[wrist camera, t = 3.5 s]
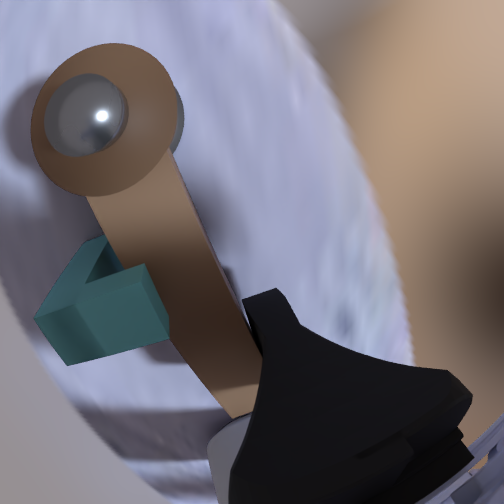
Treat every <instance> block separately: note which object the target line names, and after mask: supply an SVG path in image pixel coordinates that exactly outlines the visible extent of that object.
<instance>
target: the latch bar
mask: <svg viewBox="0 0 504 504" xmlns="http://www.w3.org/2000/svg"><path fill="white" fill-rule="evenodd" d="M86 73H93V74H98V75H101V76H103V77H105V78H107V79H108V80H109V81H111V82H112V83H113V84H114V85H116V86H117V87H118V88H119V89H120V90H121V91H122V92H123V93H124V95H125V97H126V99H127V102H128V106H129V118H128V122H127V126H126V128H125V130H124V132H123V134H122V135H121V137H120V138H119V139H118V140H117V141H116V142H115V143H114V144H113V145H112V146H111V147H109V148H108V149H106V150H104V151H101V152H98V153H94V154H90V155H86V156H82V157H71V156H66V155H64V154H62V153H60V152H58V151H57V150H56V149H54V147H53V146H52V145H51V144H50V142H49V141H48V138H47V136H46V133H45V128H44V116H45V111H46V107H47V105H48V102H49V100H50V98H51V96H52V95H53V94H54V92H55V91H56V90H57V89H58V87H59V86H61V85H62V84H63V83H64V82H65V81H67V80H68V79H70V78H72V77H74V76H77V75H80V74H86ZM176 127H177V98H176V92H175V88H174V85H173V82H172V80H171V78H170V76H169V74H168V72H167V71H166V69H165V68H164V66H163V65H162V64H161V63H160V62H159V61H158V60H157V59H156V58H155V57H153V56H152V55H151V54H150V53H148V52H146V51H144V50H142V49H140V48H138V47H135V46H132V45H127V44H119V43H109V44H101V45H97V46H93V47H90V48H87V49H85V50H82V51H80V52H78V53H77V54H75V55H73V56H72V57H70V58H69V59H67V60H66V61H65V62H64V63H62V64H61V65H60V66H59V67H58V68H57V69H56V70H55V71H54V72H53V73H52V74H51V76H50V77H49V78H48V80H47V81H46V82H45V84H44V86H43V87H42V89H41V91H40V93H39V95H38V98H37V100H36V103H35V106H34V109H33V114H32V119H31V141H32V147H33V151H34V154H35V157H36V159H37V161H38V163H39V165H40V167H41V168H42V170H43V172H44V173H45V174H46V175H47V176H48V178H49V179H50V180H51V181H53V182H54V183H55V184H56V185H57V186H59V187H61V188H62V189H64V190H66V191H68V192H71V193H73V194H77V195H80V196H86V198H87V200H88V202H89V204H90V206H91V208H92V210H93V212H94V214H95V216H96V218H97V220H98V222H99V224H100V226H101V228H102V230H103V232H104V234H105V235H106V237H107V239H108V241H109V243H110V245H111V246H112V248H113V250H114V252H115V254H116V255H117V257H118V259H119V261H120V262H121V264H122V266H123V268H124V269H125V270H126V269H129V268H132V267H135V266H138V265H141V264H143V263H145V266H146V268H147V270H148V272H149V275H150V277H151V279H152V281H153V284H154V286H155V288H156V290H157V292H158V294H159V297H160V299H161V301H162V303H163V305H164V307H165V309H166V311H167V313H168V315H169V335H170V340H171V342H172V343H173V345H174V346H175V347H176V349H177V350H178V351H179V353H180V354H181V356H182V357H183V358H184V360H185V361H186V362H187V364H188V365H189V366H190V368H191V369H192V370H193V371H194V373H195V374H196V375H197V377H198V378H199V379H200V380H201V382H202V383H203V384H204V385H205V387H206V388H207V389H208V390H209V392H210V393H211V394H212V395H213V397H214V398H215V399H216V400H217V401H218V403H219V404H220V405H221V406H222V407H223V408H224V410H225V411H226V412H227V413H228V414H229V415H230V417H231V418H232V419H233V418H236V417H238V416H241V415H244V414H246V413H249V412H252V411H253V408H254V404H255V400H256V396H257V391H258V386H259V381H260V375H261V368H262V359H263V357H262V354H261V352H260V350H259V348H258V345H257V343H256V340H255V338H254V335H253V333H252V330H251V328H250V326H249V324H248V322H247V320H246V318H245V316H244V314H243V311H242V309H241V307H240V305H239V303H238V301H237V299H236V297H235V295H234V292H233V290H232V288H231V286H230V284H229V282H228V280H227V277H226V275H225V273H224V271H223V269H222V267H221V264H220V262H219V260H218V258H217V256H216V253H215V251H214V249H213V247H212V245H211V242H210V240H209V238H208V236H207V233H206V231H205V229H204V227H203V224H202V222H201V220H200V218H199V215H198V213H197V211H196V209H195V206H194V204H193V202H192V199H191V197H190V195H189V192H188V190H187V188H186V185H185V183H184V181H183V178H182V176H181V174H180V171H179V169H178V166H177V164H176V162H175V159H174V157H173V154H172V152H171V150H170V145H171V143H172V141H173V138H174V135H175V132H176Z"/></svg>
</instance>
